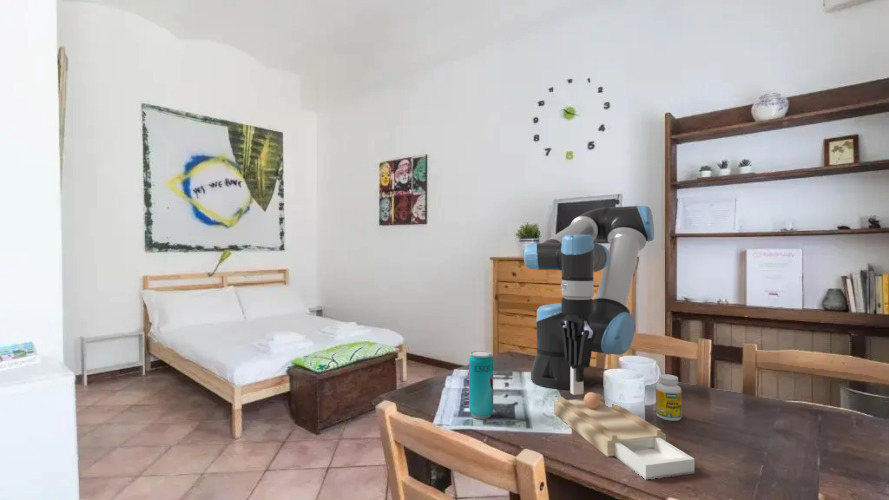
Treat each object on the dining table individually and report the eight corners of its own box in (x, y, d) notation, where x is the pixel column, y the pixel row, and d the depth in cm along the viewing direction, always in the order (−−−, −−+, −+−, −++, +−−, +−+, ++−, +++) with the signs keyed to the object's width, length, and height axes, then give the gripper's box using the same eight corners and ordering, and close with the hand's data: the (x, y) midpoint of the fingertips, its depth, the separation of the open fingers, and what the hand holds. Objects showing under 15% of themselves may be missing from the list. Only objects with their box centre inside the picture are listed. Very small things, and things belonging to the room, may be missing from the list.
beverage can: (494, 420, 102) (494, 356, 102) (469, 420, 102) (469, 356, 102) (492, 411, 108) (492, 350, 107) (468, 410, 108) (468, 350, 107)
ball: (580, 405, 103) (580, 390, 103) (594, 404, 103) (594, 389, 103) (589, 411, 99) (589, 395, 99) (603, 410, 100) (603, 394, 100)
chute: (554, 413, 106) (554, 397, 106) (602, 409, 109) (602, 393, 109) (607, 456, 84) (607, 436, 84) (665, 449, 87) (665, 429, 87)
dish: (611, 453, 86) (611, 440, 86) (655, 447, 88) (655, 435, 88) (645, 480, 76) (645, 465, 76) (694, 473, 78) (694, 458, 78)
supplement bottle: (671, 411, 107) (671, 372, 107) (686, 420, 101) (686, 379, 101) (651, 413, 106) (651, 373, 106) (665, 422, 101) (665, 380, 100)
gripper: (551, 295, 113) (550, 386, 113) (576, 301, 100) (576, 403, 100) (577, 294, 114) (577, 384, 115) (606, 300, 102) (605, 401, 102)
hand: (576, 393), depth 107 cm, fingers closed
